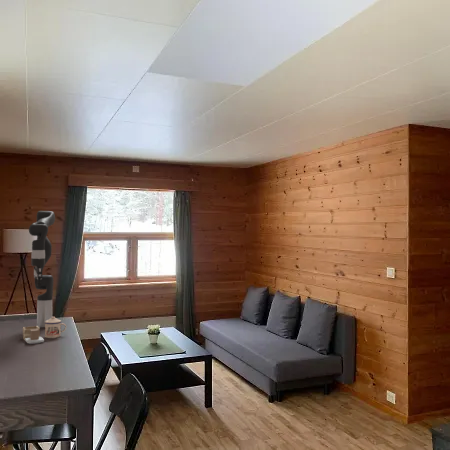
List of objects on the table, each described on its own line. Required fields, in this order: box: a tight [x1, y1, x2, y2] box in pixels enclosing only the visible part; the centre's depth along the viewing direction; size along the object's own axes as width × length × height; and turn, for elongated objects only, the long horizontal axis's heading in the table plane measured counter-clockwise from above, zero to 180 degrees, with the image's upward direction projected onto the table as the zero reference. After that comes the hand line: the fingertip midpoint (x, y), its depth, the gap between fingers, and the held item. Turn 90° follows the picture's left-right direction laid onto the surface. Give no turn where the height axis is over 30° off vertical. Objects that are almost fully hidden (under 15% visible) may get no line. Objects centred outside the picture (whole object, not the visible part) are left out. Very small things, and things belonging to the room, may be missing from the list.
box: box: [22, 325, 41, 341], centre depth 270 cm, size 8×8×6 cm
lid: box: [24, 329, 45, 345], centre depth 259 cm, size 9×9×7 cm
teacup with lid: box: [44, 316, 67, 339], centre depth 275 cm, size 12×9×12 cm
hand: (37, 285), depth 277 cm, fingers open, 8 cm apart
